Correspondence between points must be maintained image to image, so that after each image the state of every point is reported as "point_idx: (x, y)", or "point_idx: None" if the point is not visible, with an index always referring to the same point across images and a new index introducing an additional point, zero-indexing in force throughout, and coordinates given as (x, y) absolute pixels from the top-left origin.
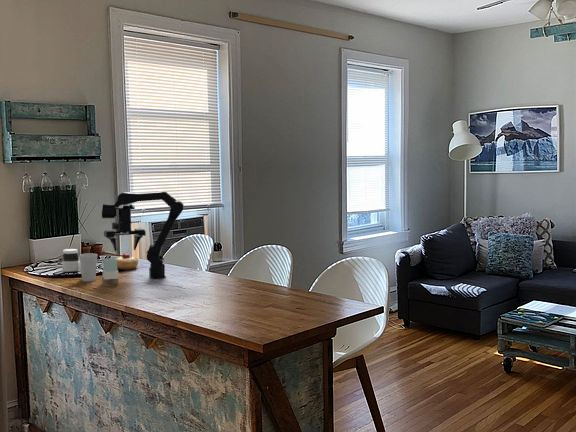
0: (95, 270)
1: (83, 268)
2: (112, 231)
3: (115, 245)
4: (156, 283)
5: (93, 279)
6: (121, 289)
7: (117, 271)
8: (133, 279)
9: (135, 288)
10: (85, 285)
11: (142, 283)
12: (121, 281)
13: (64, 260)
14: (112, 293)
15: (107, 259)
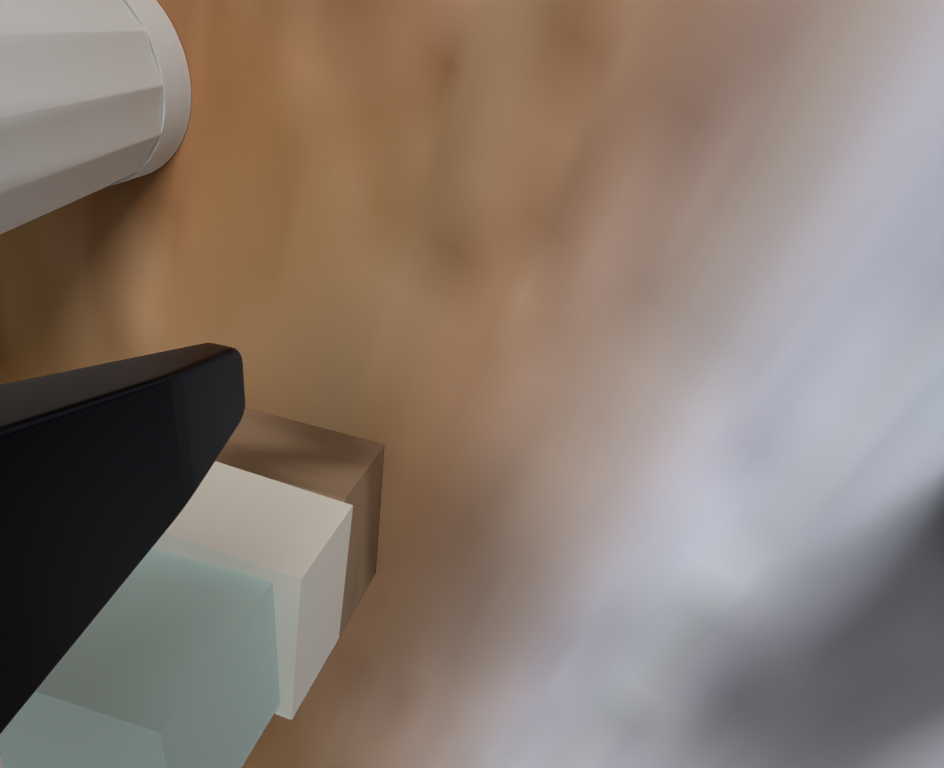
0: (74, 179)
1: None
2: None
3: (56, 628)
4: (807, 752)
5: (140, 175)
6: (355, 704)
7: (284, 710)
8: (683, 413)
9: (487, 756)
10: (55, 358)
11: (661, 657)
12: (479, 421)
13: None
14: (252, 749)
15: (42, 748)
